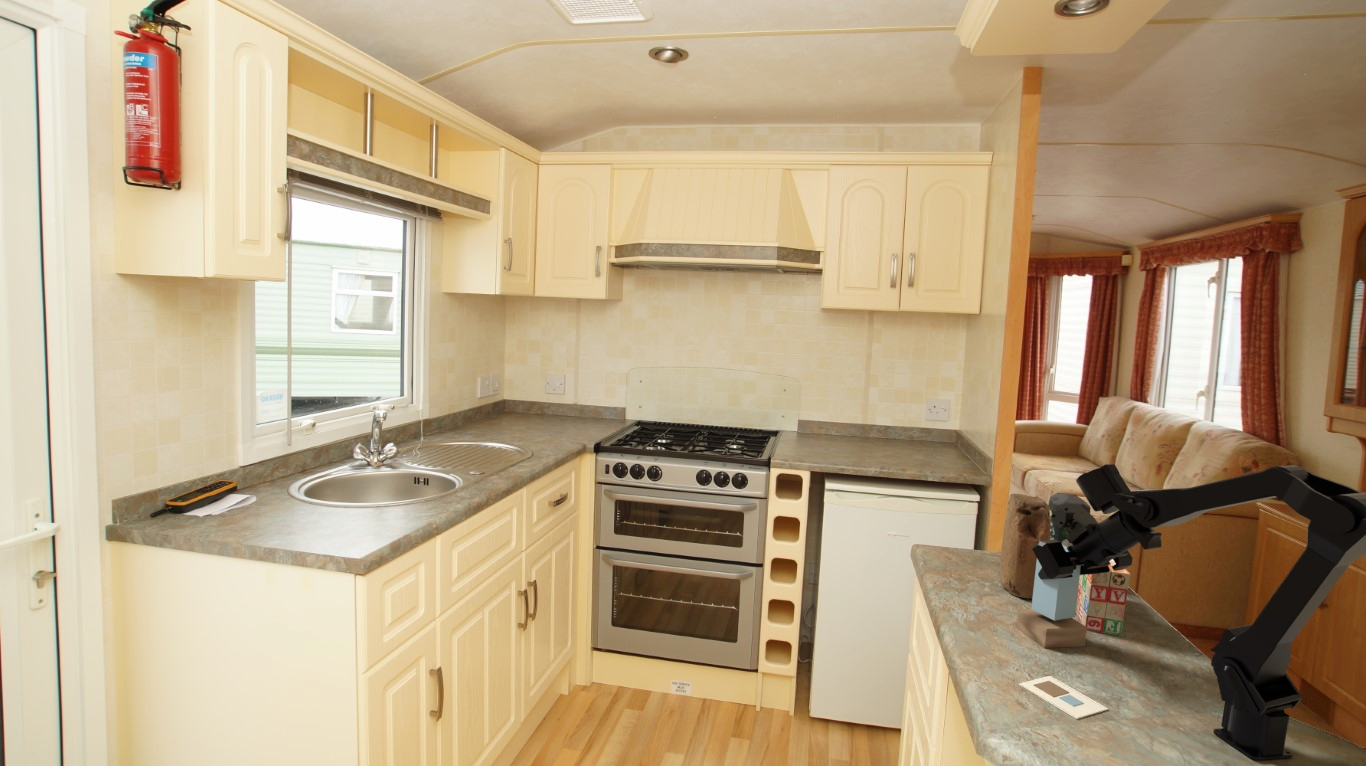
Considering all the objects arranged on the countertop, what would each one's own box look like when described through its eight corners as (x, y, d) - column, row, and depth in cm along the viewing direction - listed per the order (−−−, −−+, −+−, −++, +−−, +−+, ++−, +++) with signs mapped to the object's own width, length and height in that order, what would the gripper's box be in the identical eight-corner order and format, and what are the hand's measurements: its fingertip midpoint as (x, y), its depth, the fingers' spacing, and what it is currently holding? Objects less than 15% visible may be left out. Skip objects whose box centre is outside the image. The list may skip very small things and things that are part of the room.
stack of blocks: (1061, 588, 157) (1067, 533, 155) (1093, 593, 155) (1100, 537, 154) (1084, 630, 137) (1092, 567, 135) (1122, 636, 135) (1131, 573, 133)
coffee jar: (1037, 566, 169) (1046, 488, 167) (1074, 571, 167) (1084, 492, 165) (1045, 581, 160) (1055, 499, 158) (1085, 587, 158) (1096, 504, 156)
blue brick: (1074, 617, 131) (1082, 552, 130) (1054, 620, 129) (1061, 555, 128) (1051, 605, 136) (1058, 543, 134) (1031, 609, 134) (1038, 545, 132)
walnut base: (1084, 646, 130) (1087, 627, 129) (1044, 647, 128) (1046, 628, 128) (1054, 625, 138) (1056, 608, 137) (1016, 626, 136) (1018, 609, 136)
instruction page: (1108, 709, 109) (1108, 707, 109) (1076, 719, 106) (1076, 717, 106) (1049, 676, 118) (1049, 675, 118) (1019, 684, 115) (1019, 682, 115)
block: (996, 578, 160) (1006, 490, 158) (1033, 583, 158) (1043, 494, 156) (1006, 598, 150) (1016, 503, 147) (1045, 603, 148) (1057, 507, 145)
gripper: (1124, 490, 130) (1064, 531, 141) (1047, 496, 122) (990, 539, 134) (1162, 548, 123) (1096, 586, 135) (1083, 558, 116) (1020, 597, 128)
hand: (1050, 575), depth 133 cm, fingers closed on blue brick, 5 cm apart
